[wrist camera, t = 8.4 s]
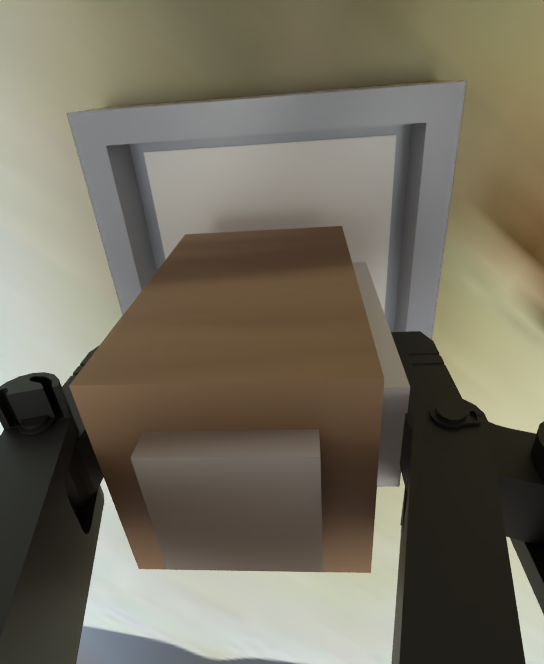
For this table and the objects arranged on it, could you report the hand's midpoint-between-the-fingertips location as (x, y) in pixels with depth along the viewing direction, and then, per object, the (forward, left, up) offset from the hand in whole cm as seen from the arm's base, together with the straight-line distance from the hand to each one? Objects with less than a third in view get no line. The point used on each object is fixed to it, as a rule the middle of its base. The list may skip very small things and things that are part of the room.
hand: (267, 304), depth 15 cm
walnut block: (0, 0, 0) cm, 0 cm away
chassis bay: (0, 0, -5) cm, 5 cm away
